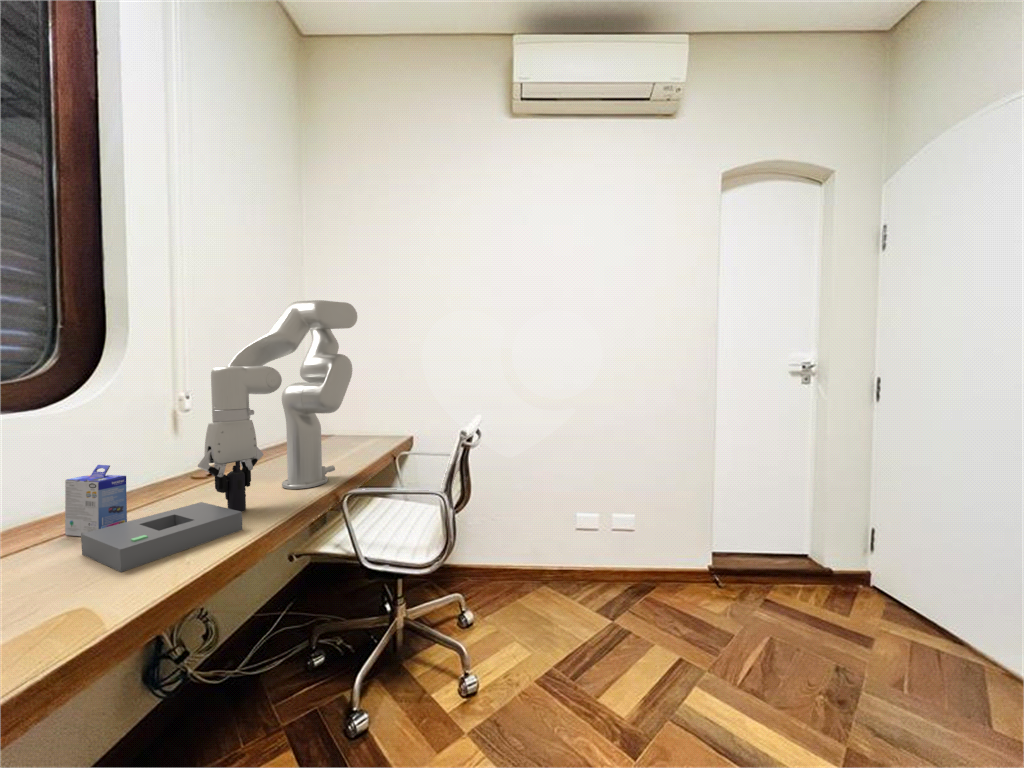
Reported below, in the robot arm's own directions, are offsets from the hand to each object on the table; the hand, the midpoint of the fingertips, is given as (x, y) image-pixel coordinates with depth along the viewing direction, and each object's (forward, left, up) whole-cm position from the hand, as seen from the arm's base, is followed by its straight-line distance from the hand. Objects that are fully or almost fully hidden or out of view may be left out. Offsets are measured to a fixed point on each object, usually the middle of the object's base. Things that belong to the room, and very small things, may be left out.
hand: (233, 488), depth 97 cm
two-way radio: (0, 0, -6) cm, 6 cm away
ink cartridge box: (+20, -14, -6) cm, 25 cm away
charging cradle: (+16, +6, -6) cm, 18 cm away
